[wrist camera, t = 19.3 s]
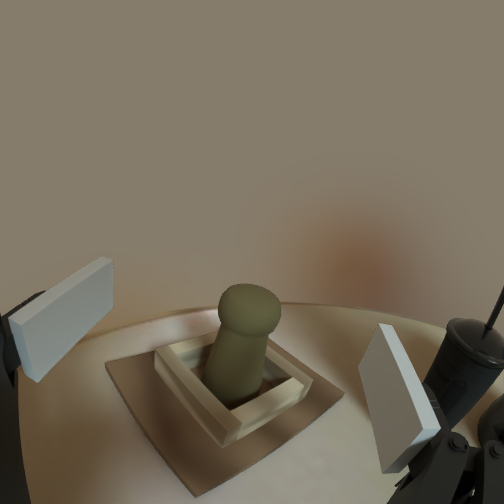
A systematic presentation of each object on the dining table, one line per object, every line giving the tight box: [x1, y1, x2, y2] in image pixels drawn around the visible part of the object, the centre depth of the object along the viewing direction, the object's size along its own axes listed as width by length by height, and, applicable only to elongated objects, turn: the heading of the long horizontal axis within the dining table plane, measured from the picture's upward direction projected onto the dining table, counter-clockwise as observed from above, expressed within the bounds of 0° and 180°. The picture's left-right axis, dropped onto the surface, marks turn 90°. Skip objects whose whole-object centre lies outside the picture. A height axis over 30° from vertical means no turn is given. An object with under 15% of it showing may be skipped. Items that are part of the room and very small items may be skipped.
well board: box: [105, 331, 345, 498], centre depth 27 cm, size 20×16×4 cm
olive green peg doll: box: [200, 284, 281, 409], centre depth 26 cm, size 6×6×11 cm
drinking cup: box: [423, 287, 504, 429], centre depth 20 cm, size 8×8×20 cm
